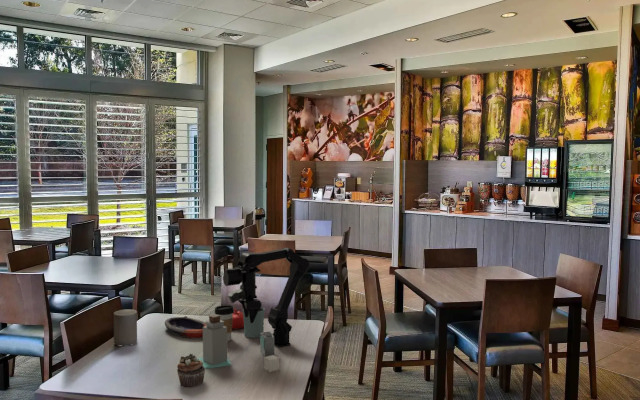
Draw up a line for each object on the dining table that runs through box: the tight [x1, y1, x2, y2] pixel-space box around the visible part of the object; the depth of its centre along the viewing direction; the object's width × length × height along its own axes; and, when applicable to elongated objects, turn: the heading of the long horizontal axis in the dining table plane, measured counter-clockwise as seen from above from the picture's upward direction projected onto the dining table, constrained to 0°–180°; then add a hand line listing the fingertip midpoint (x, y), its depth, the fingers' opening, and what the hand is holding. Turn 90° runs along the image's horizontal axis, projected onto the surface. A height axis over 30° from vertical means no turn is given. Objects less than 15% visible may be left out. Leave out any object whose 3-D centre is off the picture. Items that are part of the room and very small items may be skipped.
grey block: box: [263, 354, 280, 373], centre depth 196 cm, size 4×4×4 cm
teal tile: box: [197, 356, 232, 370], centre depth 203 cm, size 11×11×1 cm
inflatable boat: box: [164, 315, 206, 339], centre depth 241 cm, size 16×31×5 cm, turn 45°
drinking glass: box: [242, 307, 266, 339], centre depth 237 cm, size 10×10×12 cm
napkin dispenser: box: [259, 331, 276, 357], centre depth 212 cm, size 4×7×8 cm, turn 21°
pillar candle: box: [113, 308, 138, 346], centre depth 226 cm, size 10×10×15 cm
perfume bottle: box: [202, 313, 228, 365], centre depth 203 cm, size 7×7×18 cm
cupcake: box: [177, 353, 206, 389], centre depth 183 cm, size 10×10×10 cm
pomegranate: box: [232, 308, 244, 330], centre depth 249 cm, size 10×10×9 cm
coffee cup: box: [214, 304, 235, 342], centre depth 230 cm, size 8×8×15 cm
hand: (249, 320), depth 216 cm, fingers open, 9 cm apart
